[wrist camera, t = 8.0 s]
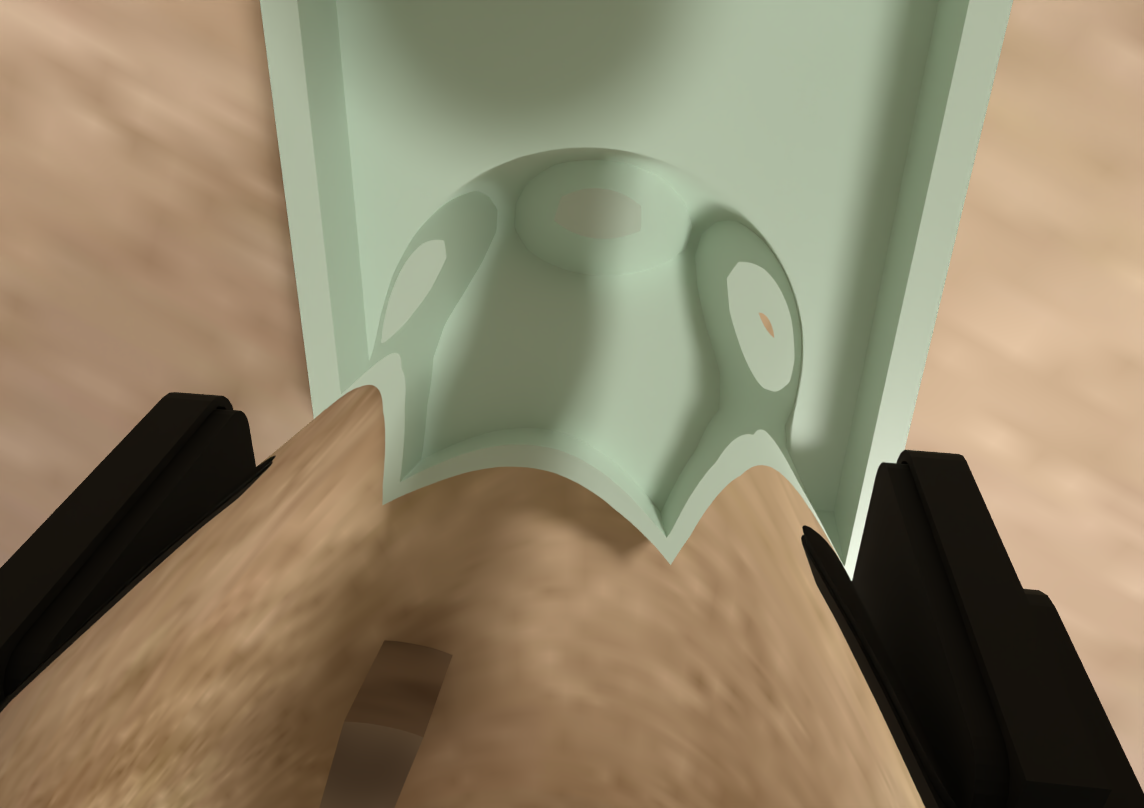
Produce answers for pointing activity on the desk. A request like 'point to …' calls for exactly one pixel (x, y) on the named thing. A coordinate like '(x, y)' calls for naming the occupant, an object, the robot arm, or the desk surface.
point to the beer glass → (509, 552)
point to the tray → (667, 132)
